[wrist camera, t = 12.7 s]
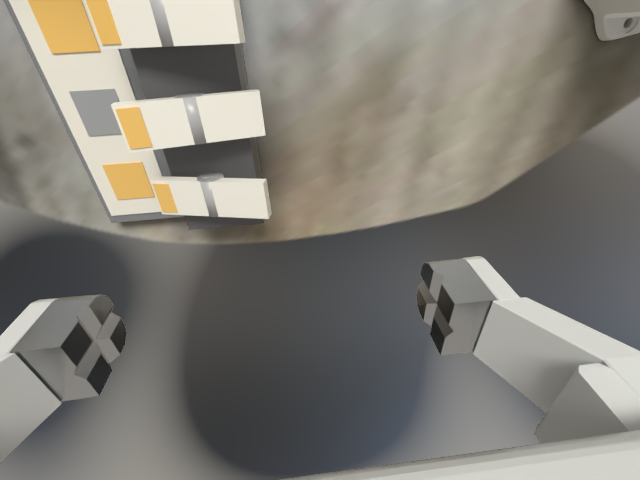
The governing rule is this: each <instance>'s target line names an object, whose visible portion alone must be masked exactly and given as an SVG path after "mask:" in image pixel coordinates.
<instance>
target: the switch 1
mask: <svg viewBox="0 0 640 480" xmlns="http://www.w3.org/2000/svg"><path fill="white" fill-rule="evenodd" d="M84 1H85V4H86V6H87V9H88V12H89V14H90V17H91V20H92V23H93V25H94V28H95V31H96V33H97V36H98V39H99V42H100V44H101V47H102V49H123V48H146V47H170V46H192V45H215V44H238V43H246V42H245V36H244V29H243V22H242V15H241V9H240V2H239V0H84Z"/></svg>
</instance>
